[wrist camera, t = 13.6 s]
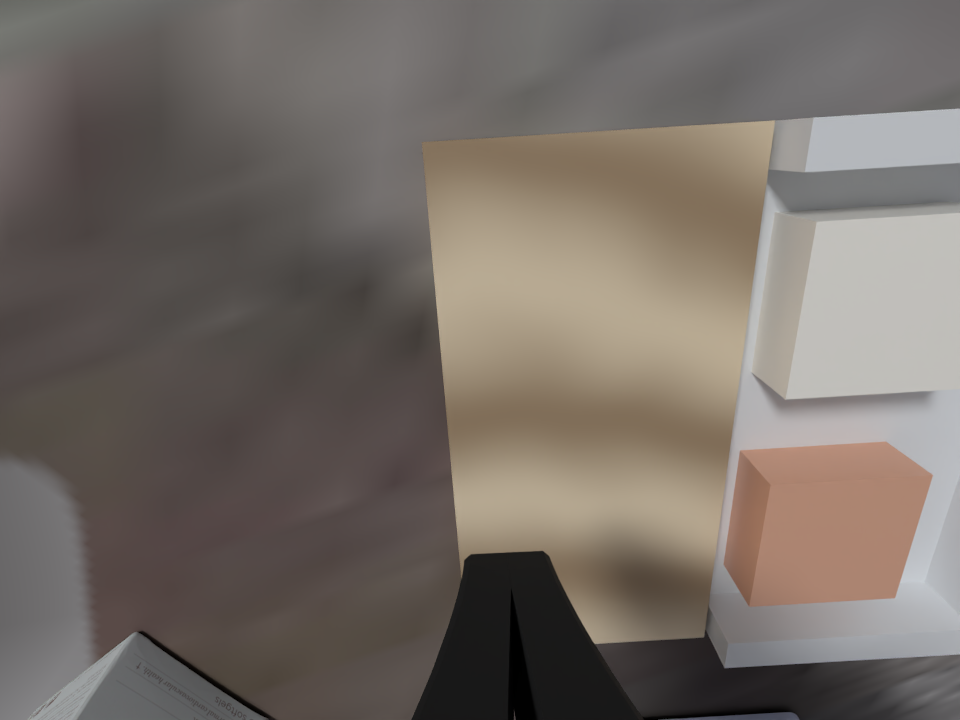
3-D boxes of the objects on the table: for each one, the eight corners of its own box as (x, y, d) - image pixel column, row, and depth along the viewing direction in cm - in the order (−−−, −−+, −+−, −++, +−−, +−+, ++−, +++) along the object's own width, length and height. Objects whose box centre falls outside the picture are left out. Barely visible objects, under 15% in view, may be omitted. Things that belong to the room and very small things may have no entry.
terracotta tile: (855, 556, 20) (895, 598, 18) (723, 564, 20) (749, 606, 18) (886, 441, 18) (932, 475, 16) (739, 450, 18) (770, 485, 16)
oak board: (691, 611, 21) (703, 637, 20) (468, 625, 21) (468, 651, 20) (752, 122, 15) (774, 120, 14) (425, 142, 15) (421, 142, 14)
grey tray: (941, 597, 21) (998, 652, 19) (696, 611, 21) (724, 667, 19) (1115, 99, 15) (1236, 92, 12) (759, 121, 15) (813, 117, 12)
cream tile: (906, 362, 17) (959, 389, 15) (751, 372, 17) (785, 399, 15) (948, 201, 15) (1014, 209, 13) (774, 212, 15) (816, 221, 13)
